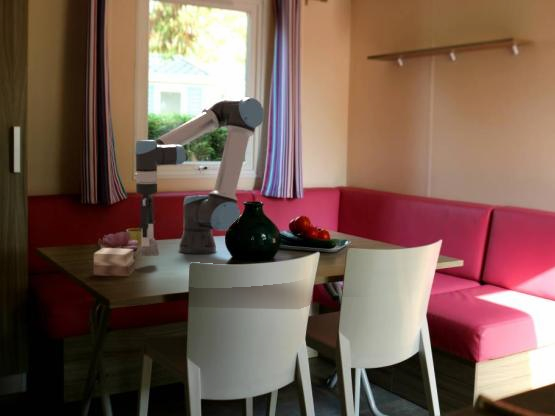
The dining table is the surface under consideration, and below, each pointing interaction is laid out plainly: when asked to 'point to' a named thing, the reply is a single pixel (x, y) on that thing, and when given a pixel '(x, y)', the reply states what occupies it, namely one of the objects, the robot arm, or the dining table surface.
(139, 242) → the flower pot
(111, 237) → the flower
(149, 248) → the stone
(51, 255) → the dining table surface
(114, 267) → the tower base
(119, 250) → the tower top
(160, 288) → the dining table surface
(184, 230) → the robot arm
